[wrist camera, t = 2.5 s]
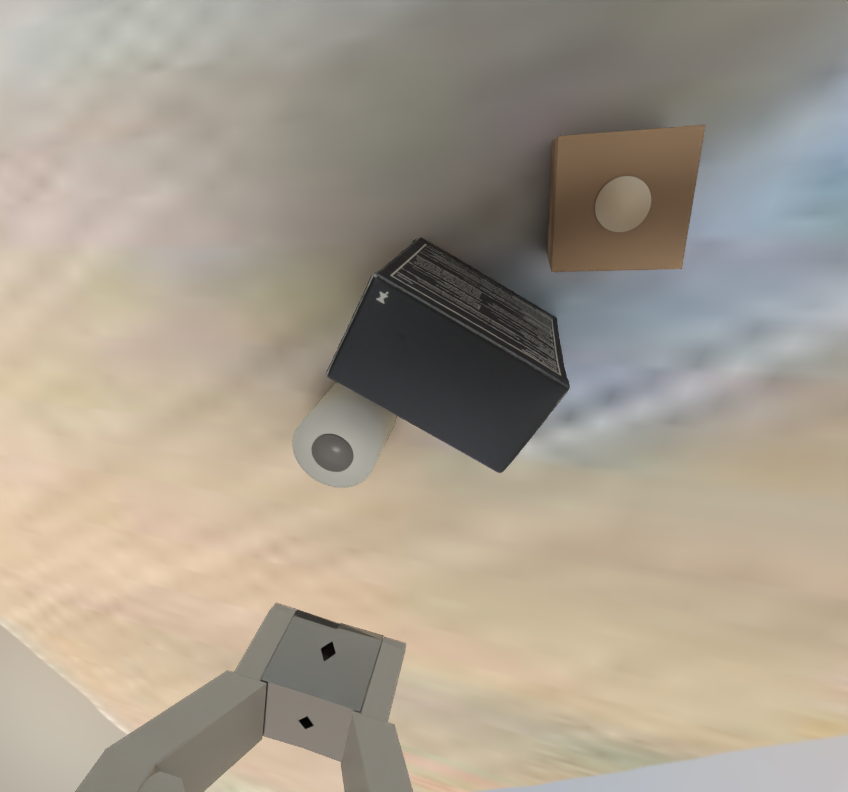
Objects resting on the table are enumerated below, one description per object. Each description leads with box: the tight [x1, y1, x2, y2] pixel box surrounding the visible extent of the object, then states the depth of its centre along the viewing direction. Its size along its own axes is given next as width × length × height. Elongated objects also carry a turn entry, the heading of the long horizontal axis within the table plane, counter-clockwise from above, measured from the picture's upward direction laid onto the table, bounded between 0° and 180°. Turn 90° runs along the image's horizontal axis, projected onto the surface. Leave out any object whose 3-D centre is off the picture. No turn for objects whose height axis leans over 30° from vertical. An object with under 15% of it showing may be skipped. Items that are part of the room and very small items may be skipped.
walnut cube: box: [547, 125, 705, 272], centre depth 25 cm, size 6×6×6 cm
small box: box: [326, 238, 570, 473], centre depth 27 cm, size 11×6×10 cm, turn 62°
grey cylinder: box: [293, 382, 396, 488], centre depth 34 cm, size 6×6×6 cm
